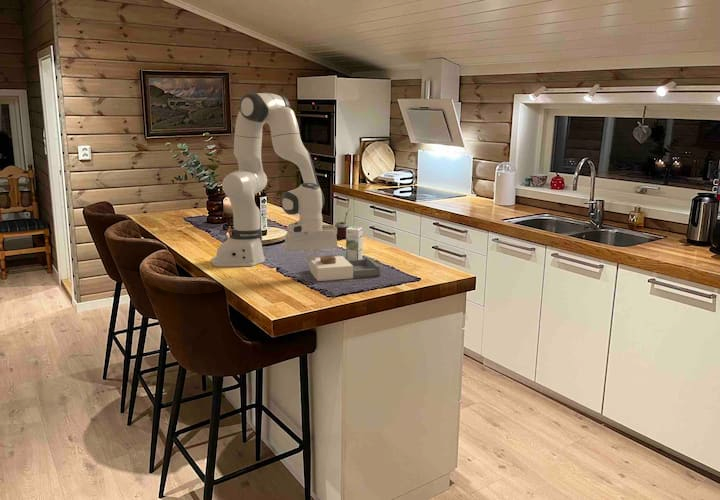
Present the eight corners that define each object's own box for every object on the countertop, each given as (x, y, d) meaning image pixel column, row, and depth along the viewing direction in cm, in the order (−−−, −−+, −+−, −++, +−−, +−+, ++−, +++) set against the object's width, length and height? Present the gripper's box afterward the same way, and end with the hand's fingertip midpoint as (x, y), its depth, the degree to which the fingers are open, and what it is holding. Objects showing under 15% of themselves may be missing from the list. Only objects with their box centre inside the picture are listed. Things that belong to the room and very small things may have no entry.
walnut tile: (323, 264, 235) (323, 259, 234) (320, 260, 239) (320, 256, 239) (335, 263, 236) (335, 258, 236) (332, 260, 241) (332, 255, 240)
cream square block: (317, 281, 230) (317, 268, 229) (309, 270, 245) (308, 258, 243) (353, 278, 234) (353, 265, 232) (342, 267, 249) (342, 255, 247)
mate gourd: (333, 240, 299) (332, 210, 295) (336, 236, 306) (336, 207, 303) (347, 240, 297) (347, 210, 294) (350, 237, 305) (350, 208, 301)
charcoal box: (353, 278, 234) (353, 268, 233) (343, 267, 249) (343, 258, 248) (379, 276, 237) (379, 266, 236) (367, 265, 252) (367, 256, 251)
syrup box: (362, 259, 262) (363, 226, 258) (358, 262, 256) (358, 229, 253) (350, 258, 264) (350, 225, 260) (345, 261, 258) (345, 228, 255)
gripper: (335, 222, 238) (335, 256, 241) (283, 225, 232) (284, 260, 236) (339, 225, 232) (339, 260, 235) (286, 228, 226) (287, 264, 230)
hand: (311, 260), depth 235 cm, fingers closed
